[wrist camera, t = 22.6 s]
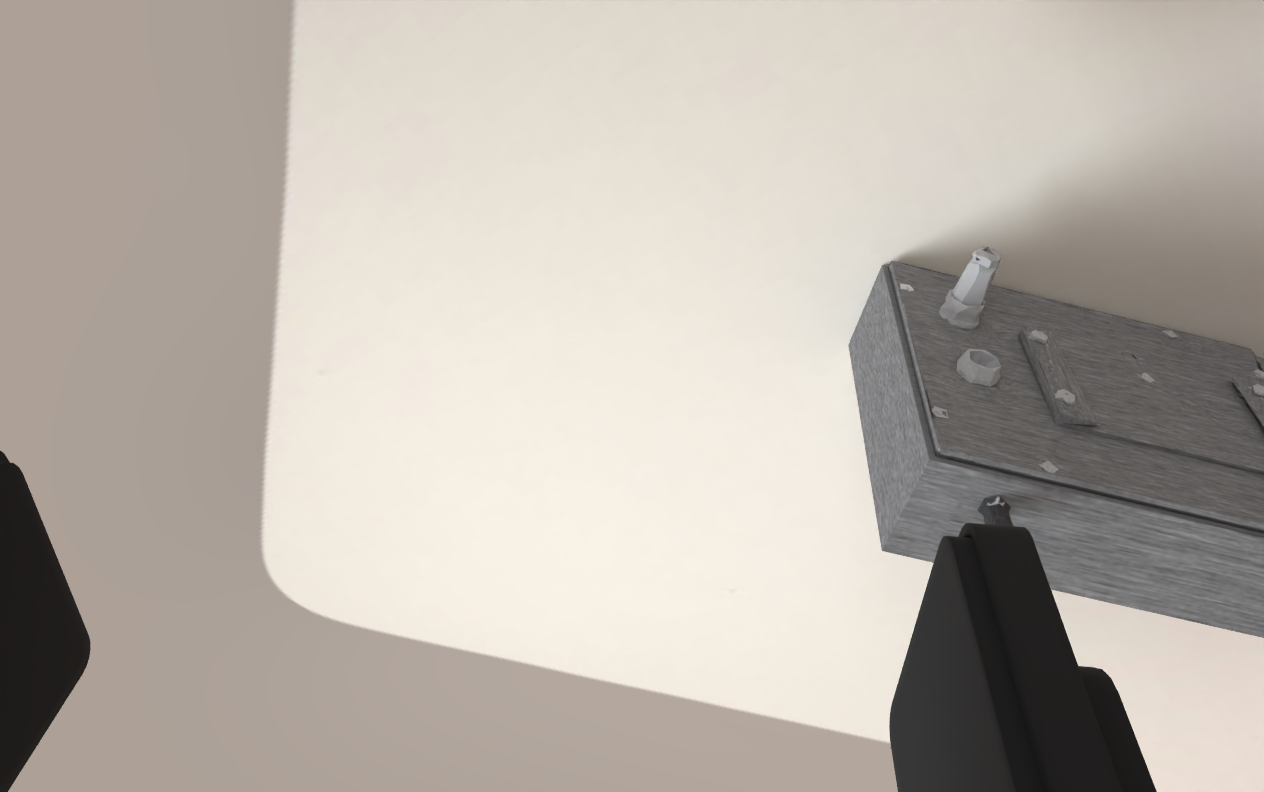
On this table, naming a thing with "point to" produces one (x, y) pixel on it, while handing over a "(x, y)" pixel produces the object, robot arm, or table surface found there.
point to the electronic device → (1066, 441)
